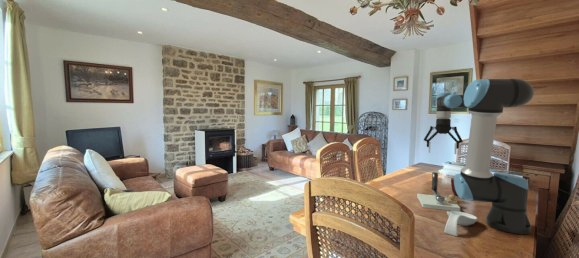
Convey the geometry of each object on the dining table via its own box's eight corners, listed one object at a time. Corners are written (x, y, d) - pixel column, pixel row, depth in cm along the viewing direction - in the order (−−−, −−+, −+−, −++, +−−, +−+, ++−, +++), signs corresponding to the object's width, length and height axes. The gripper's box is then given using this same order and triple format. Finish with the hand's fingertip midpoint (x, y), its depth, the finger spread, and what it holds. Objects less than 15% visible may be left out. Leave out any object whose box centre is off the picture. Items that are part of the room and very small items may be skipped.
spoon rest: (449, 215, 124) (450, 201, 124) (479, 223, 116) (480, 207, 116) (435, 231, 108) (436, 214, 107) (468, 241, 99) (469, 223, 99)
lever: (445, 201, 132) (446, 179, 131) (436, 200, 133) (437, 178, 132) (437, 192, 147) (438, 172, 147) (429, 191, 149) (430, 172, 148)
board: (460, 211, 129) (460, 199, 129) (423, 207, 134) (423, 195, 134) (449, 200, 146) (450, 189, 146) (417, 196, 151) (417, 186, 151)
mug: (472, 196, 153) (473, 180, 152) (469, 199, 147) (470, 182, 147) (452, 192, 161) (453, 177, 160) (448, 195, 155) (449, 179, 154)
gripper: (467, 118, 151) (465, 154, 152) (420, 118, 162) (419, 151, 163) (469, 118, 144) (467, 155, 145) (420, 118, 156) (419, 152, 157)
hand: (442, 153), depth 154 cm, fingers open, 13 cm apart
